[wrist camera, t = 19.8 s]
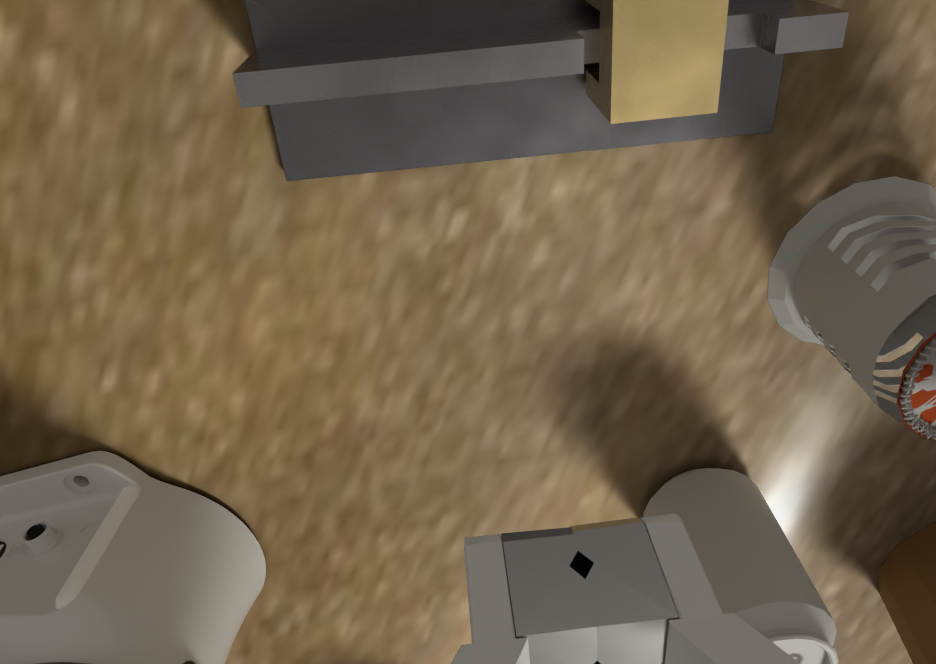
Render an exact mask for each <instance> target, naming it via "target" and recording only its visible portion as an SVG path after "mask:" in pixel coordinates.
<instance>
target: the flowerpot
mask: <svg viewBox="0 0 936 664" xmlns="http://www.w3.org/2000/svg"><path fill="white" fill-rule="evenodd" d="M878 572H879V593H880V596H881V598H882V600H883V602H884V604H885V606H886V608H887V610H888V612H889V614H890V616H891V618H892V620H893V622H894V625H895V627H896V629H897V631H898V633H899V635H900V637H901V639H902V641H903V643H904V645H905V647H906V649H907V651H908V654H909V656H910V658H911V660H912V662H913V664H936V522H935V523H932V524H930V525H928V526H927V527H925V528H924V529H922V530H920V531H919V532H917V533H916V534H914V535H912V536H911V537H909V538H907V539H906V540H904V541H903V542H901V543H899V544H898V545H897V546H896V547H895V549H894V550H893V551H892V553H891V554H890V555H889V557H888V558H887V559H886V561H885V562H884V563H883V565H882V566H881V567H880V569H879V570H878Z"/></svg>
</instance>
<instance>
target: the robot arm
mask: <svg viewBox="0 0 936 664" xmlns="http://www.w3.org/2000/svg"><path fill="white" fill-rule="evenodd" d="M82 476H83V477H82ZM464 551H465V564H466V576H467V588H468V600H469V612H470V624H471V637H472V644H467V645H461V647H460V648H459V650H458V652H457V654H456V655H455V657H454V659H453V661H452V663H451V664H800V663H799V662H798V661H796V660H795V659H794V658H792V657H791V656H790V655H788V654H787V653H786V652H785V651H783V650H782V649H781V648H779V647H778V646H777V645H776V644H774V643H773V642H772V641H770V640H769V639H768V638H766V637H765V636H764V635H763V634H761V633H760V632H759V631H757V630H756V629H755V628H753V627H752V626H751V625H750V624H748V623H747V622H746V621H744V620H743V619H742V618H740V617H739V616H738V615H737V614H735V613H727V614H723V612H722V610H721V607H720V605H719V603H718V601H717V598H716V596H715V594H714V592H713V589H712V587H711V585H710V582H709V580H708V578H707V576H706V573H705V571H704V569H703V566H702V564H701V562H700V560H699V557H698V555H697V553H696V550H695V548H694V546H693V544H692V541H691V539H690V537H689V535H688V532H687V530H686V528H685V525H684V523H683V521H682V519H681V518H680V517H679V516H678V515H677V514H676V513H675V514H667V515H659V516H650V517H642V518H640V519H639V518H630V519H622V520H615V521H607V522H599V523H591V524H584V525H576V526H570V527H569V528H558V529H547V530H536V531H525V532H514V533H503V534H501V536H500V534H497V535H487V536H477V537H467V538H465V544H464ZM265 576H266V564H265V558H264V555H263V552H262V549H261V547H260V545H259V543H258V541H257V540H256V538H255V536H254V535H253V534H252V532H251V531H250V530H249V529H248V528H247V527H246V525H245V524H244V523H243V522H242V521H241V520H239V519H238V518H237V517H236V516H235V515H234V514H232V513H231V512H229V511H228V510H227V509H225V508H224V507H222V506H221V505H219V504H217V503H215V502H214V501H212V500H210V499H208V498H206V497H204V496H201V495H199V494H197V493H194V492H192V491H189V490H186V489H183V488H180V487H177V486H174V485H171V484H167V483H164V482H162V481H159V480H157V479H154V478H152V477H150V476H149V475H147V474H146V473H144V472H143V471H141V470H140V469H138V468H137V467H136V466H134V465H133V464H131V463H130V462H128V461H126V460H125V459H123V458H121V457H119V456H117V455H115V454H113V453H110V452H106V451H93V452H89V453H85V454H81V455H77V456H74V457H70V458H66V459H63V460H59V461H55V462H52V463H48V464H44V465H41V466H37V467H33V468H30V469H26V470H22V471H19V472H15V473H11V474H7V475H4V476H0V664H225V661H226V658H227V656H228V653H229V651H230V648H231V646H232V644H233V642H234V639H235V637H236V635H237V633H238V631H239V629H240V627H241V625H242V623H243V621H244V619H245V617H246V615H247V613H248V612H249V610H250V608H251V606H252V604H253V603H254V601H255V600H256V598H257V597H258V595H259V594H260V592H261V590H262V587H263V585H264V581H265Z"/></svg>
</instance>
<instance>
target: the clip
mask: <svg viewBox="0 0 936 664" xmlns="http://www.w3.org/2000/svg"><path fill="white" fill-rule="evenodd" d="M586 2H587V3H589V4H590V5H592V6H593V7H595V8H596V9H598V10H599V11H600V51H599V68H597V69H587V70H586V95H587V96H588V97H589V99H590V100H591V101H592V102H593V103H594V105H595V106H596V107H597V108H598V109H599V111H600V112H601V113H602V114H603V115H604V117H605V118H606V119H607V120H608V122H609V123H610V124H616V123H625V122H635V121H644V120H654V119H663V118H672V117H682V116H691V115H701V114H710V113H717V111H718V102H719V92H720V82H721V72H722V63H723V53H724V43H725V34H726V24H727V14H728V4H729V0H586Z"/></svg>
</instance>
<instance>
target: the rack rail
mask: <svg viewBox="0 0 936 664" xmlns="http://www.w3.org/2000/svg"><path fill="white" fill-rule="evenodd" d="M245 3H246V7H247V12H248V16H249V20H250V25H251V29H252V33H253V38H254V42H255V47H256V50H255V51H254V52H253V53H252V54H251V55H250V56H249V57H248V58H247V59H246V60H245V61H244V62H243V63H242V64H241V65H240V66H239V67H238V68H237V69H236V70H235V71H234V72H233V73H232V74H233V78H234V82H235V86H236V90H237V94H238V98H239V102H240V106H241V108H245V107H255V106H265V105H269V107H270V112H271V116H272V120H273V125H274V129H275V133H276V138H277V142H278V146H279V151H280V155H281V159H282V164H283V168H284V172H285V177H286V181H293V180H303V179H313V178H323V177H333V176H343V175H353V174H363V173H372V172H382V171H392V170H402V169H412V168H422V167H432V166H442V165H451V164H461V163H471V162H481V161H491V160H501V159H511V158H521V157H530V156H540V155H550V154H560V153H570V152H580V151H590V150H600V149H609V148H619V147H629V146H639V145H649V144H659V143H669V142H679V141H688V140H698V139H708V138H718V137H728V136H738V135H748V134H758V133H767V132H773V126H774V119H775V112H776V106H777V99H778V93H779V86H780V79H781V73H782V66H783V60H784V53H794V52H804V51H814V50H824V49H834V48H842V47H843V42H844V36H845V31H846V26H847V21H848V16H849V12H847V11H844V10H840V9H837V8H833V7H830V6H826V5H823V4H819V3H816V2H812V1H809V0H729V4H728V14H727V24H726V34H725V43H724V53H723V63H722V72H721V82H720V92H719V102H718V111H717V113H710V114H701V115H691V116H682V117H672V118H663V119H654V120H644V121H635V122H625V123H616V124H610V123H609V122H608V120H607V119H606V118H605V117H604V115H603V114H602V113H601V112H600V111H599V109H598V108H597V107H596V106H595V105H594V103H593V102H592V101H591V100H590V99H589V97H588V96H587V95H586V70H587V69H597V68H599V51H600V11H599V10H598V9H596V8H595V7H593V6H592V5H590V4H589V3H587V2H586V0H245Z"/></svg>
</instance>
